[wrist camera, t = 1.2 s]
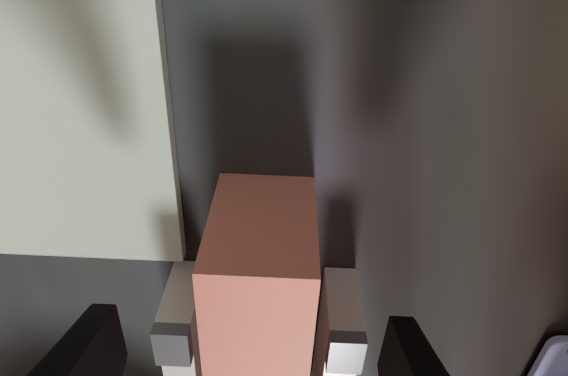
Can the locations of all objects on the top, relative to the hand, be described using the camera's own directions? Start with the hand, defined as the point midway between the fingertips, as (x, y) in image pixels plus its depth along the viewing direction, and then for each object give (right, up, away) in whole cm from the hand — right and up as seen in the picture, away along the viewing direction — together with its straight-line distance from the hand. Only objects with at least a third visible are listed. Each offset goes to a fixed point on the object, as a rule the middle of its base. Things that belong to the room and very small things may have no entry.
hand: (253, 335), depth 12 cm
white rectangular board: (-6, +7, +1) cm, 9 cm away
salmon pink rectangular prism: (0, 0, +6) cm, 6 cm away
